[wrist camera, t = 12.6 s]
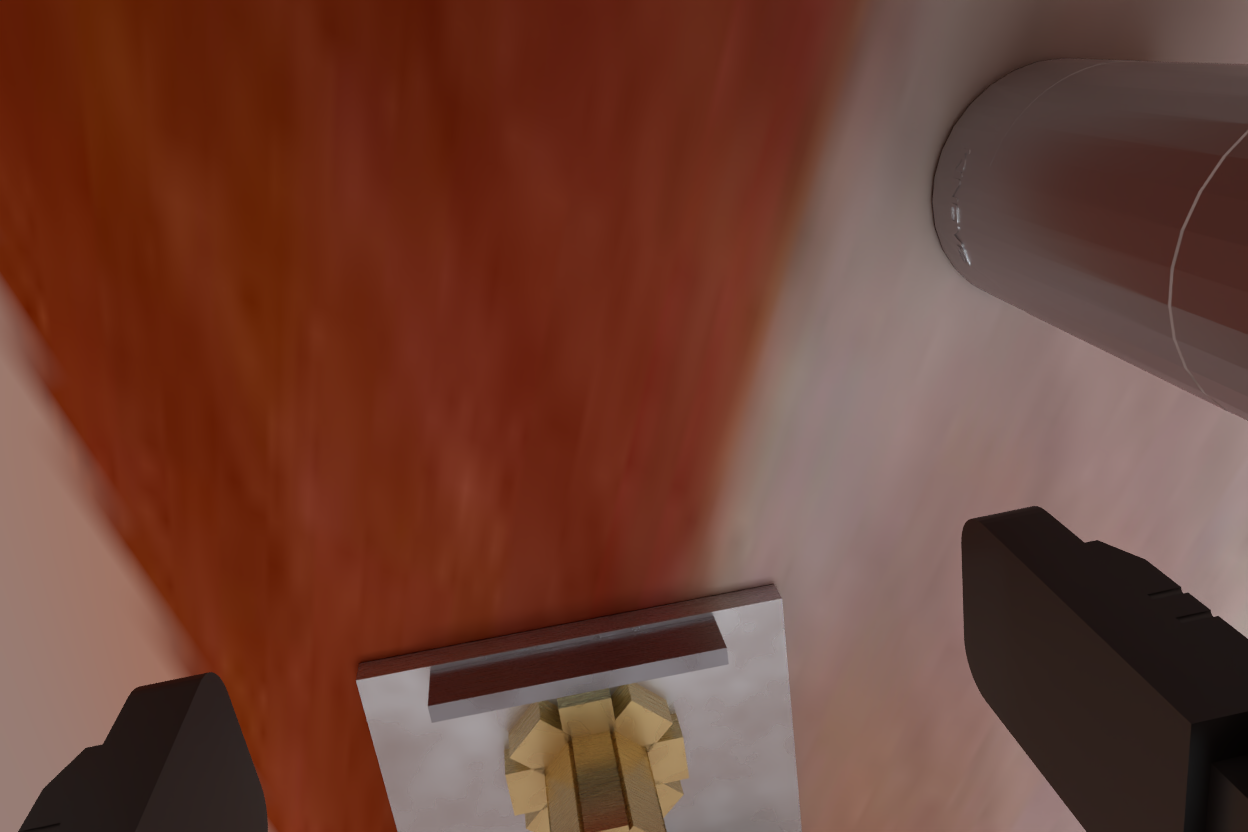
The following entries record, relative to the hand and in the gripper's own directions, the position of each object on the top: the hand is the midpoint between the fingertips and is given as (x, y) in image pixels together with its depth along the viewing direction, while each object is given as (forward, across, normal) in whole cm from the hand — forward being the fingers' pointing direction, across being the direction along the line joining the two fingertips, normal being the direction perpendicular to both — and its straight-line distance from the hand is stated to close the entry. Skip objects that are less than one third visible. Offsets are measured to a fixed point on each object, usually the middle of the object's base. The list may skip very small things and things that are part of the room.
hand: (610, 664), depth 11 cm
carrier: (+28, +1, +28) cm, 39 cm away
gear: (+27, +1, +23) cm, 35 cm away
